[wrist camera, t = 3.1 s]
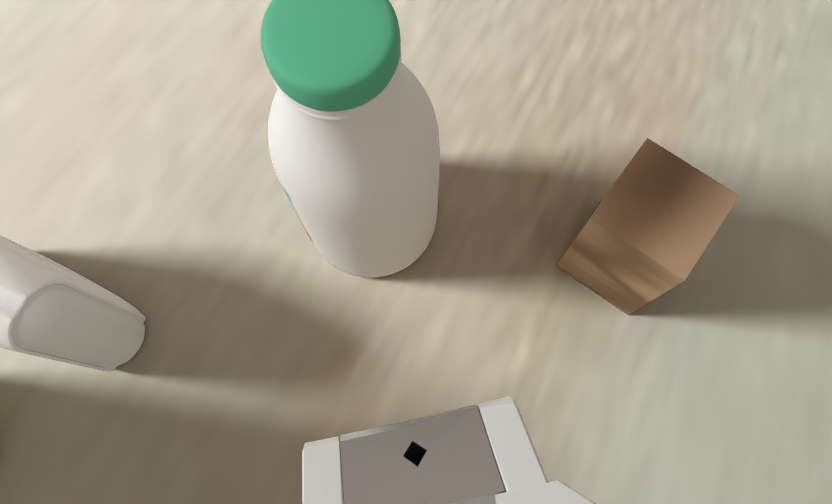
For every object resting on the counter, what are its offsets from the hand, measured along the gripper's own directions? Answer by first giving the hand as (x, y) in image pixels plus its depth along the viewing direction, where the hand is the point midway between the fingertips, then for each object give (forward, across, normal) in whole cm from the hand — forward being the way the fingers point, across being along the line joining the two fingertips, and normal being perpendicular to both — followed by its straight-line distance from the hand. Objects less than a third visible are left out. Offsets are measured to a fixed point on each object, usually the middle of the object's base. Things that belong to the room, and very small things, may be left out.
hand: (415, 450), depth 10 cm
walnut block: (+26, -13, +15) cm, 33 cm away
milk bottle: (+30, 0, +11) cm, 32 cm away
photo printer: (+29, +19, +13) cm, 37 cm away
